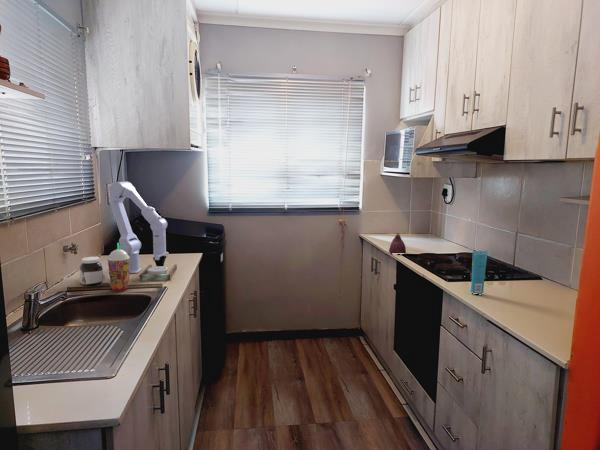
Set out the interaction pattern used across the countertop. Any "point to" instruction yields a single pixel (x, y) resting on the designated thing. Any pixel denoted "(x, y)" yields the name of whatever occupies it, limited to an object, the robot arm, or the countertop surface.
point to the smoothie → (119, 269)
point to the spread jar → (92, 272)
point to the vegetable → (397, 245)
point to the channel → (157, 275)
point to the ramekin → (157, 270)
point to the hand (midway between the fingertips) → (160, 271)
